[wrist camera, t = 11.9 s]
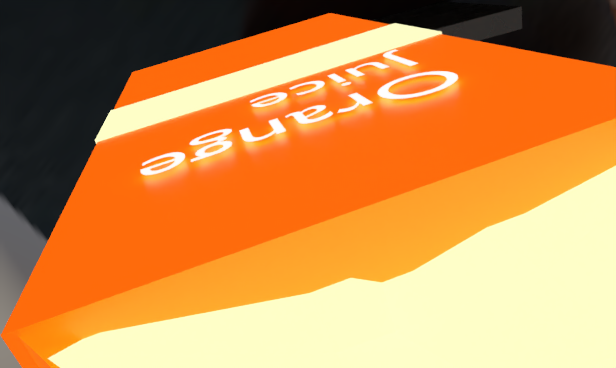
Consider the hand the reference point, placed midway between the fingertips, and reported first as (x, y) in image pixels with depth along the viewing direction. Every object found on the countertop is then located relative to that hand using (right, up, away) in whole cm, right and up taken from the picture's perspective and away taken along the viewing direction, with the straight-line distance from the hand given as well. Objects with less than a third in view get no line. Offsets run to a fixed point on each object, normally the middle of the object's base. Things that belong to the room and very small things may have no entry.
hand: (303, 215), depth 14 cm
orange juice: (-2, +2, +6) cm, 6 cm away
